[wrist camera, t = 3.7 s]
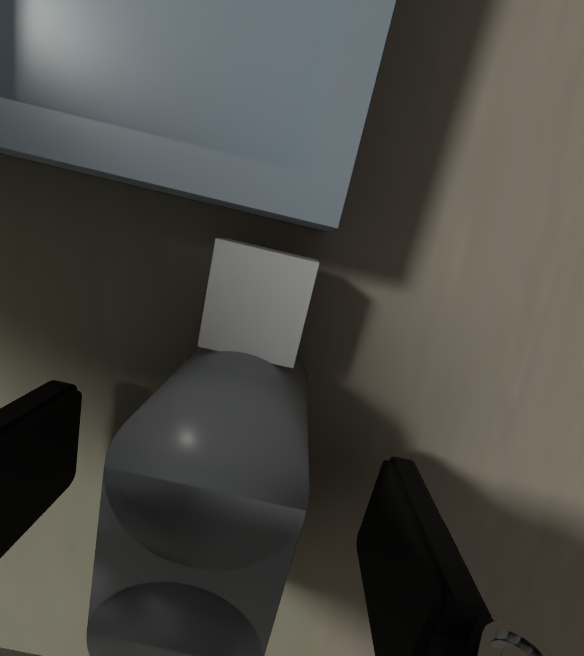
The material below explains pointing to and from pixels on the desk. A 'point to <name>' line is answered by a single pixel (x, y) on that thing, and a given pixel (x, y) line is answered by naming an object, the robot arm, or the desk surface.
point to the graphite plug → (211, 475)
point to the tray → (196, 96)
